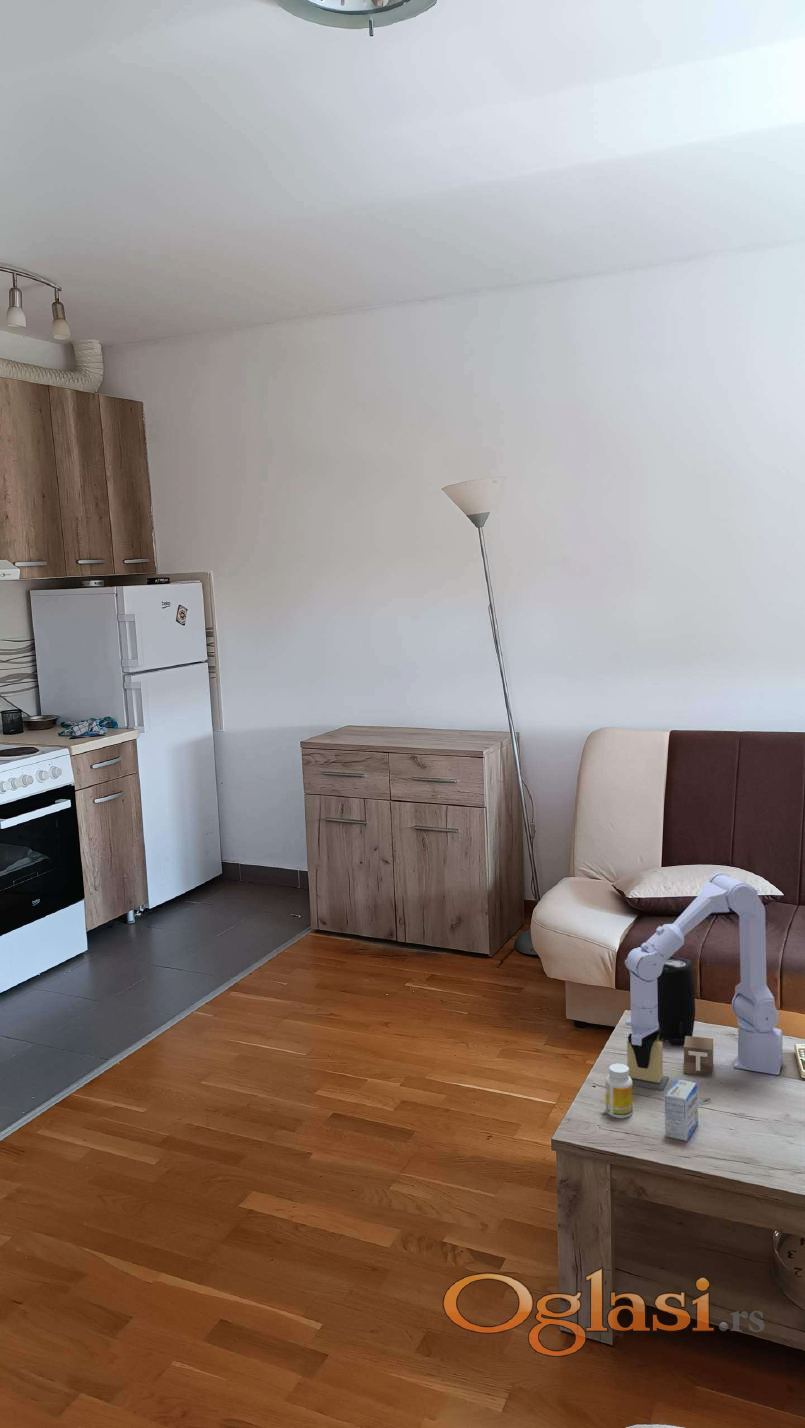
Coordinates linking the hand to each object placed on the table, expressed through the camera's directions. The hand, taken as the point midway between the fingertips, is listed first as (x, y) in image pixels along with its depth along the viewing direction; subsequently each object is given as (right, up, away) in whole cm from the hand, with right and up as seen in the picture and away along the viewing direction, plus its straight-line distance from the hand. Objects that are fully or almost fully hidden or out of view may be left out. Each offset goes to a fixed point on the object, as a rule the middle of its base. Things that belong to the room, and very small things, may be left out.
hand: (644, 1063), depth 215 cm
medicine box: (+2, -6, -20) cm, 21 cm away
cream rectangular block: (0, -3, 0) cm, 3 cm away
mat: (0, -4, 0) cm, 4 cm away
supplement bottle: (-8, -6, -13) cm, 16 cm away
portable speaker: (+12, -2, +20) cm, 24 cm away
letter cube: (+13, -3, +5) cm, 15 cm away
